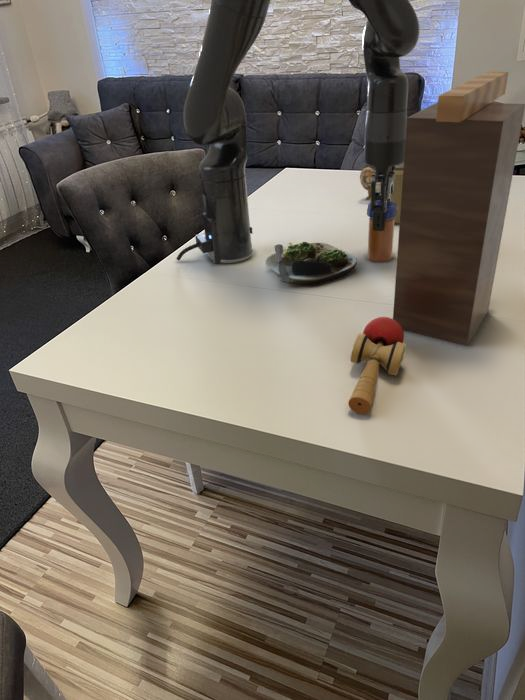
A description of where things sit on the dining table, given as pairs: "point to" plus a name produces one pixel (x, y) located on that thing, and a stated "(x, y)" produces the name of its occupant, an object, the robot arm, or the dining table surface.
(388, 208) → the jar lid
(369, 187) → the lion figurine
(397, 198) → the squeeze bottle
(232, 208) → the robot arm
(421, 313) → the stand
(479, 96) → the rod
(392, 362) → the kendama
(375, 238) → the jar
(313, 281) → the salad plate
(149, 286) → the dining table surface
